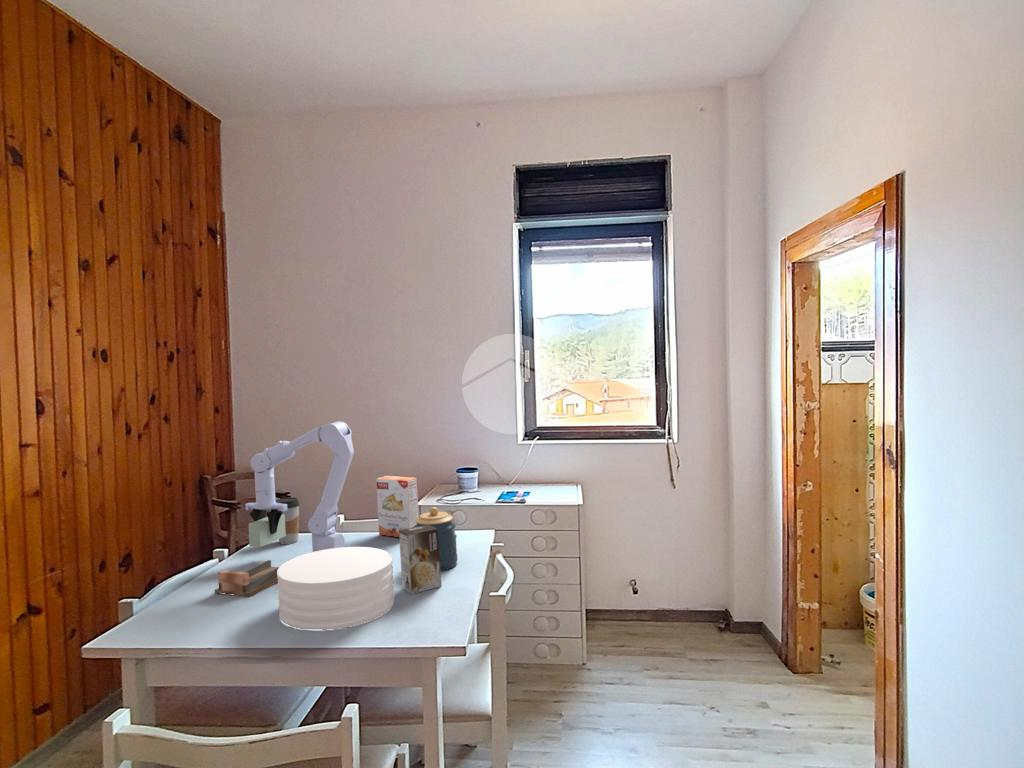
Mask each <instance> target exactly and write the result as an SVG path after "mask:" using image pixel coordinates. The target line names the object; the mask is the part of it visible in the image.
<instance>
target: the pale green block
mask: <svg viewBox="0 0 1024 768" xmlns="http://www.w3.org/2000/svg"><path fill="white" fill-rule="evenodd" d="M285 536H286V531H285V515H281V517H280V520H279V523H278V527H277V532H276V533H274V534H271V533H270V526H269V520H268V517H267V516H265V518H263V519H260V520H257V521H255V522H254V521H252V522H249V523H248V540H249V542H248V544H249V547H257V548H258V547H259V548H261V547H264V546H265V545H266V546H267V545H268V544H270V543H273V542H275V541H277V540H278V541H279V539H280V538H282V537H285Z"/></svg>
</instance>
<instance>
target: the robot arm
mask: <svg viewBox="0 0 1024 768" xmlns="http://www.w3.org/2000/svg"><path fill="white" fill-rule="evenodd" d="M352 432H353V431H352V430H351V428H350V427H349V426H348V424H347V423H346V422H345V421H342V420H337V421H334V422H332V423H325V424H324V425H322V426H318V427H315V428H313V429H310V430H309V431H307V432H305V433H303V434H302V435H301V436H298V437H297V438H295V439H293V440H291V441H288V440H283V441H282V440H279V441H276V445H273V446H272V447H270V448H269V447H267V448H265V449H264V450H263V452H258V453H256V454H254V456H252V457H251V459H250V467H251V469H252V471H254V487H255V489H254V490H255V502H247V503H245V504H244V505H245V510H246V511H249V510H251V512H249V515H250V517H251V519H252V520H253V522H255V521H257V520H260V519H263V518H266V517H268V520H269V526H270V533H271V534H274V533H276V532H277V527H278V523H279V520H280V517H281V515H282V513H283V512H284V511H286V510H287V504H282V503H277V502H276V500H277V499H276V487H275V485H276V484H275V467H276V466H278V465H279V464H282V463H284V462H285V461H288V460H290V459H291V458H293V457H294V456H295V453H296V451H298V450H300V449H301V448H304V447H306V446H308V445H310V444H312V443H314V442H318V443H321V442H322V443H323V444H325V445H326V446H327V447H328V448H329V449H331V451H332V452H333V455H334V459H333V463H332V464H331V468H330V470H329V471H330V472H329V475H328V476H327V477H328V478H327V480H326V483H325V486H324V489H323V493H322V496H321V499H320V503H319V504H318V505H317V507H316V509H315V510H314V513H313V515H312V516H311V517H310V518H309V520H308V522H307V528H308V530H309V533H311V543H312V545H311V546H312V552H316V551H320V550H326V549H332V548H341V547H346V543H345V542H346V541H345V536H344V535H343V534H342V533H339V532H337V531H336V527H335V526H337V524H338V519H339V516H338V513H339V506H338V503H339V500H340V496H341V494H342V492H343V491H342V490H343V487H344V486H345V481H346V478H347V475H348V472H349V470H350V469H349V468H350V466H351V463H352V460H353V457H354V454H355V453H354V452H355V450H354V445H353V440H352ZM267 511H268V512H267Z"/></svg>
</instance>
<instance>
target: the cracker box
mask: <svg viewBox="0 0 1024 768" xmlns="http://www.w3.org/2000/svg"><path fill="white" fill-rule="evenodd" d="M418 493H419V492H418V478H417V477H411V476H410V477H408V476H407V477H406V476H397V475H396V476H394V475H384V476H380V477H378V478H376V496H377V498H376V499H377V517H378V534H379V535H378V536H382V535H388V536H387V537H389V536H396V537H395V538H397V537H399V530H404V529H409V528H413V527H414V526H415V525H416V524H417V523H416V522H415V519H416V518H418V517H419V516H420V515H419V500H418V499H419V497H418V496H419V495H418Z"/></svg>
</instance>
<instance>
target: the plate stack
mask: <svg viewBox="0 0 1024 768" xmlns="http://www.w3.org/2000/svg"><path fill="white" fill-rule="evenodd" d="M278 567H279V568H278V570H277V578H278V583H277V589H278V592H277V595H278V596H277V598H278V610H279V613H278V614H279V616H280V618H279V620H280V619H281V620H282V621H283V622H284V623H286V624H288V625H290V626H292V627H296V628H300V629H322V630H327V629H339V628H345V629H347V628H346V627H350V626H354V625H358V624H361V623H364V622H367V621H370V620H372V621H374V620H376V619H375V618H377V617H379V616H380V617H382V616H383V615H382V614H384V613H385V612H387V611H388V610H389V609H390V608H391V607H392V606H394V605H393V604H395V594H394V593H395V588H394V587H395V586H394V575H393V574H394V568H393V567H394V566H393V556H392V554H391V553H390V552H388V551H387V550H384V549H380V548H375V547H369V546H345V547H341V548H332V549H326V550H320V551H316V552H313V551H312V552H308V553H305V554H301V555H298V556H296V557H294V558H291V559H289V560H287V561H286V562H283V564H281V565H280V566H278ZM392 608H393V607H392ZM392 608H391V609H392ZM391 609H390V610H391ZM390 610H389V611H390ZM389 611H388V612H389ZM388 612H387V613H388ZM385 614H386V613H385ZM385 614H384V615H385ZM381 615H382V616H381ZM380 617H379V618H380ZM373 619H374V620H373ZM377 619H378V618H377ZM370 622H371V621H370ZM367 623H368V622H367ZM364 624H365V623H364ZM361 625H362V624H361ZM358 626H359V625H358ZM354 627H355V626H354ZM350 628H351V627H350ZM339 630H340V629H339Z"/></svg>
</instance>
